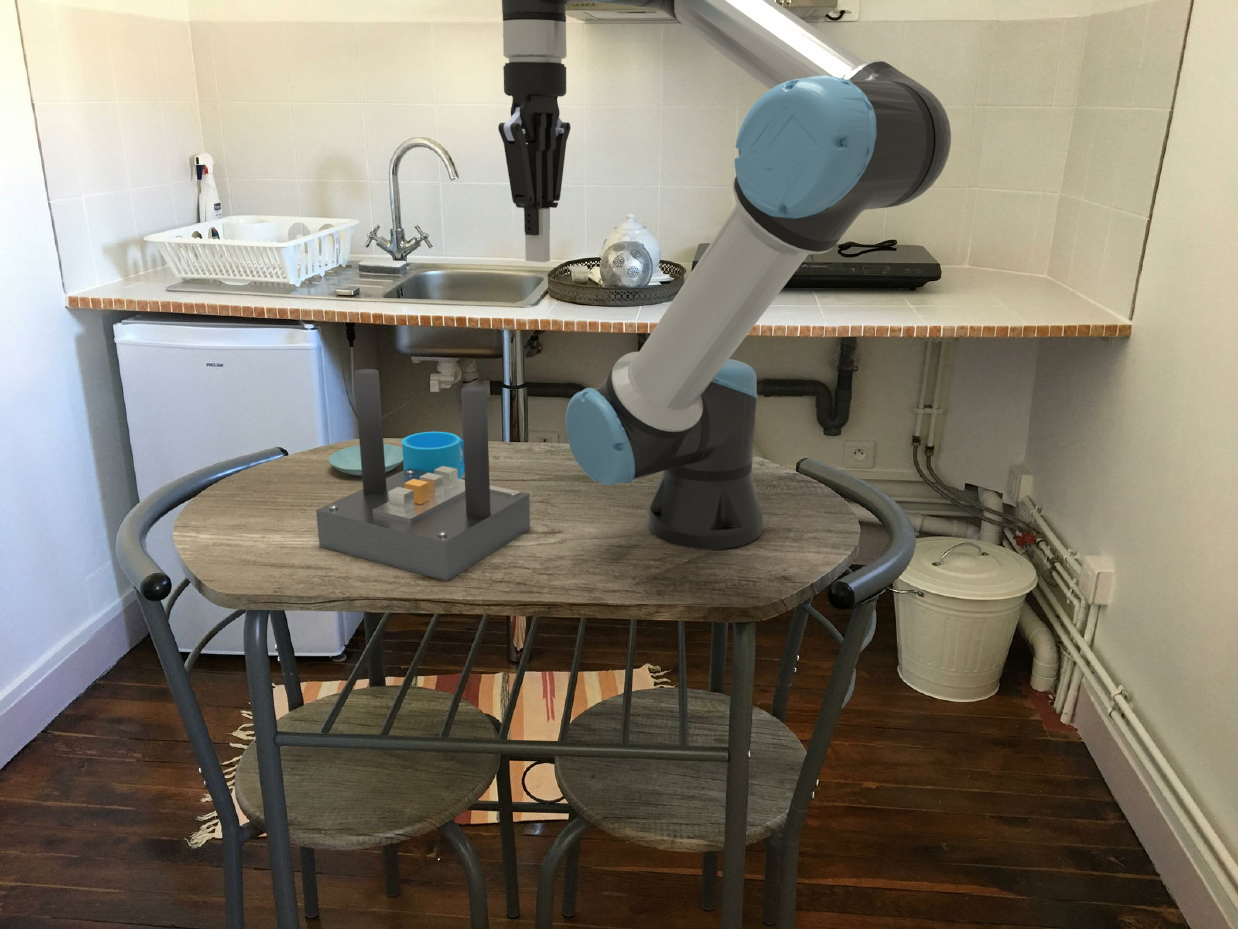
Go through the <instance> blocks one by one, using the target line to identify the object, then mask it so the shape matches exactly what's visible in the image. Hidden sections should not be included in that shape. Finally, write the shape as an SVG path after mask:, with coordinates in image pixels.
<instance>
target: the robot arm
mask: <svg viewBox="0 0 1238 929" xmlns="http://www.w3.org/2000/svg"><path fill="white" fill-rule="evenodd" d="M579 3H598V4H608V5H619V6H620V5H621V6H630V7H631V6H632V7H636V8H637V7H639V8H647V9H648V8H650V9H657V10H660V11H662V12H663V13H665V14H667V15H668V16H669V17H670V18H672V19H673V20H674V21H676V22H677V23H679V24H680V25H682V26H684V27H685V28H686V29H688V30H689V31H690V32H692V33H693V34H695V35H696V36H697V37H698V38H699V39H701V40H703V41H704V42H705V43H707V44H708V45H709V46H710V47H712V48H713V49H715V50H716V51H717V52H718V53H720V54H722V55H723V56H724V57H725V58H726V59H728V60H729V61H731V63H733V64H735V65H736V66H737V67H739V68H740V69H742V70H743V71H744V72H745V73H747V74H748V75H750V76H751V77H753V78H754V79H755V80H757V81H758V83H760V84H761V85H763V86H764V87H766V88H767V89H768V91H766V92H765V93H764V94H763V95H761V97H759V99H757V101H756V102H755V103H754V104H753V105H752V106H751V108H750V109H749V111H748V112H747V113H746V116H745V117H744V119H743V121H742V123H741V125H740V128H739V131H738V134H737V138H736V141H735V148H736V149H737V150H738V156H737V157H735V158H734V170H735V178H734V179H733V181H732V182H733V183H732V193H733V195H734V199H735V202H736V204H735V205H734V207H733V208H732V210H731V212H730V213H729V215H728V216H727V217H726V219H725V221H724V222H723V224H722V225H721V227H720V228H719V230H718V232H717V233H716V234H715V236H714V237H713V239H712V240H711V242H710V244H709V245H708V247H707V248H706V250H705V251H704V253H703V254H702V256H701V257H700V259H699V260H698V261H697V263H696V265H695V266H694V268H693V269H692V271H691V272H690V273H689V275H688V277H687V279H686V280H685V282H684V283H683V285H682V286H681V288H680V289H679V291H678V292H677V294H676V295H675V296H674V298H673V300H672V301H671V303H670V305H669V306H668V307H667V309H666V310H665V312H664V314H663V315H662V316H661V318H660V319H659V321H658V322H657V324H656V326H655V327H654V328H653V331H651V333H650V335H649V336H648V338H647V339H646V341H645V343H643V345H642V347H641V348H640V350H639V351H631V352H629V353H626V354H624V355H623V356H621V357H620V358H619V359H618V360H617V361H616V362H615V364H614V365H613V367H612V368H611V369H610V371H609V373H608V374H607V376H606V377H605V379H603V380H604V381H603V382H602V383H601V384H600V385H598V386H597V387H595V388H594V387H593V388H592V387H586V388H584V389H583V390H581V391H578V392H576V393H575V394H574V395H573V396H572V397H571V398H570V400H569V402H568V405H567V407H566V411H565V420H564V421H565V431H566V435H567V441H568V445H569V448H570V450H571V451H570V452H571V453H572V456H573V457H574V459H575V461H576V463H577V464H578V466H579V467H580V469H581V470H582V471H583V472H584V474H585V475H586V476H587V477H588V478H590V479H591V480H592V481H594V482H596V483H599V484H601V485H604V486H613V485H619V484H629V483H632V481H634V480H635V481H636V480H637V479H641V478H644V477H647V476H650V475H654V474H657V473H660V472H661V475H660V478H659V481H658V484H657V487H656V490H655V492H654V494H653V497H652V500H651V501H650V502H651V503H650V505H649V508H648V509H649V510H648V529H649V531H650V532H651V534H653V536H655V537H656V538H658V539H660V540H662V541H664V542H666V543H669V544H672V545H674V546H679V547H682V548H688V549H689V548H690V549H697V550H726V549H732V548H733V549H734V548H737V547H741V546H745V545H748V544H750V543H753V542H754V541H755V540H757V539H758V538H759V537H760V535H761V534H762V531H763V530H762V528H763V511H762V509H761V505H760V504H761V503H760V502H759V501H760V500H759V497H758V493H757V490H756V486H755V483H754V478H753V474H752V473H753V457H754V446H755V445H754V444H755V442H754V441H755V428H756V417H757V416H756V415H757V414H756V413H757V400H758V398H759V397H758V396H759V395H758V392H757V390H758V389H757V374H756V371H755V370H754V368H753V367H752V366H751V365H749V364H747V363H745V362H742V361H739V360H737V359H736V360H735V359H733V358H732V359H731V357H732V355H733V354H734V353H735V352H736V350H737V349H738V348H739V347H740V345H741V343H742V342H743V341H744V340H745V338H746V337H747V336H748V335H749V333H750V331H751V330H752V329H754V327H755V325H757V322H758V321H759V320H760V318H762V316H763V314H764V313H765V312H766V311H767V310H768V308H769V307H770V305H771V304H772V303H773V302H774V300H775V299H776V298H777V296H778V295H779V293H781V291H782V290H783V288H784V287H785V286H786V285H787V283H788V282H789V280H790V279H791V278H792V277H793V275H794V274H795V272H796V271H797V270H798V269H799V268H800V266H801V265H802V263H803V262H805V260H806V258H807V257H808V255H820V254H825V253H828V252H830V251H831V250H832V249H833V248H834V247H835V246H836V245H837V243H838V242H840V240H841V238H842V237H843V236H844V234H845V233H846V232H847V231H848V230H849V229H850V227H851V226H852V224H854V222H855V221H856V219H857V218H858V217H859V216H860V215H861V213H862V212H864V211H865V210H876V209H885V208H886V209H887V208H892V207H898V206H901V205H904V204H907V203H909V202H911V201H913V200H915V199H917V198H918V197H920V196H922V195H923V194H924V193H925V192H926V191H928V190H929V189H930V188H931V187H932V186H933V185H934V183H935V182H936V181H937V180H938V179H939V177H940V176H941V174H942V172H943V171H944V169H945V167H946V164H947V162H948V159H949V155H950V150H951V144H952V133H951V123H950V120H949V117H948V114H947V111H946V110H945V108H944V106H943V104H942V103H941V101H940V100H939V98H937V96H935V93H933V92H932V91H931V90H929V89H928V88H926V87H925V86H924V85H922V84H921V83H919V82H917V81H916V80H914V79H913V78H911V77H910V76H908V75H906V74H905V73H904V72H902V71H900V70H898V68H896V67H894V66H893V65H891V64H890V63H888V62H886V61H885V60H880V59H875V60H870V61H868V62H866V61H865V60H863V59H862V58H860V57H859V56H857V55H856V54H854V53H853V52H851V51H850V50H848V49H847V48H845V47H843V46H842V45H840V44H839V43H838V42H836V41H835V40H834V39H832V38H830V37H829V36H827V35H826V34H824V33H822V32H821V31H819V30H818V29H817V28H816V27H814V26H812V25H810V23H807V22H806V21H805V20H803V19H802V18H800V17H798V16H797V15H795V14H794V13H793V12H791V11H789V10H788V9H787V8H786V7H784V6H782V5H781V4H779V3H778V2H776V1H775V0H501V9H502V10H501V13H502V38H503V41H502V42H503V46H502V47H503V53H502V55H503V56H504V57H505V58H506V59H508V62H506V63H504V65H503V68H502V69H503V92H504V94H505V95H506V96H508V97H512V100H511V107H510V112H509V113H510V118H509V119H508V121H506V122H499V124H498V127H497V130H498V132H499V133H498V134H499V135H500V137H501V141H502V143H503V148H504V154H505V161H506V167H507V174H508V180H509V185H510V186H509V187H510V191H511V199H512V203H513V204H514V205H515V207H516V208H518V209H523V213H524V214H523V216H524V219H523V220H524V223H523V224H524V225H523V227H524V228H523V230H524V238H525V239H524V243H525V244H524V245H525V248H524V249H525V262H535V263H537V262H538V263H547V262H550V261H551V250H550V249H551V247H550V246H551V244H550V243H551V242H550V240H551V239H550V230H551V226H550V225H551V224H550V223H551V222H550V220H551V219H550V218H551V217H550V216H551V215H550V214H551V213H550V212H551V211H550V210H551V208H555V209H556V208H558V205H559V201H560V199H561V194H562V182H563V176H564V175H563V174H564V168H565V158H566V148H567V141H568V138H569V135H570V131H571V124H570V122H564V121H562V119H561V118H560V114H561V112H560V107H559V103H558V98H559V97H564V96H566V94H567V67H566V66H565V63H563V59H565V58H567V54H568V52H567V15H566V13H567V12H566V9H567V7H566V5H569V4H579Z"/></svg>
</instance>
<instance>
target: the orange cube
mask: <svg viewBox="0 0 1238 929" xmlns="http://www.w3.org/2000/svg"><path fill="white" fill-rule="evenodd" d="M404 486H405V488H406V489H410V490H413V492H414V503H417V504H422V503H424V502H426V501H428V500H430V499H429V482H426V481H421V480H417V479H412V480H410V481H408V482H406V483H404Z"/></svg>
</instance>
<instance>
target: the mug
mask: <svg viewBox="0 0 1238 929" xmlns="http://www.w3.org/2000/svg"><path fill="white" fill-rule="evenodd" d="M401 445H402V446H401V448H402V449H403V461H402V464H403V465H402V466H403V471H404V470H406V469H408V468H411V469H415V470H420V471H425V472H429V473H434V470H435V469H437V468H439V467H441V466H445V467H450V468H455V469H457V471H458V479H463V476H464V475H465V472H464V449H463V438H461V437H460V436H458V435H457V434H455V433H451V432H446V431H445V432H444V431H423V432H418V433H414V434H411V435H408V436H406V437H404V438H403V439H402V440H401Z"/></svg>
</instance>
